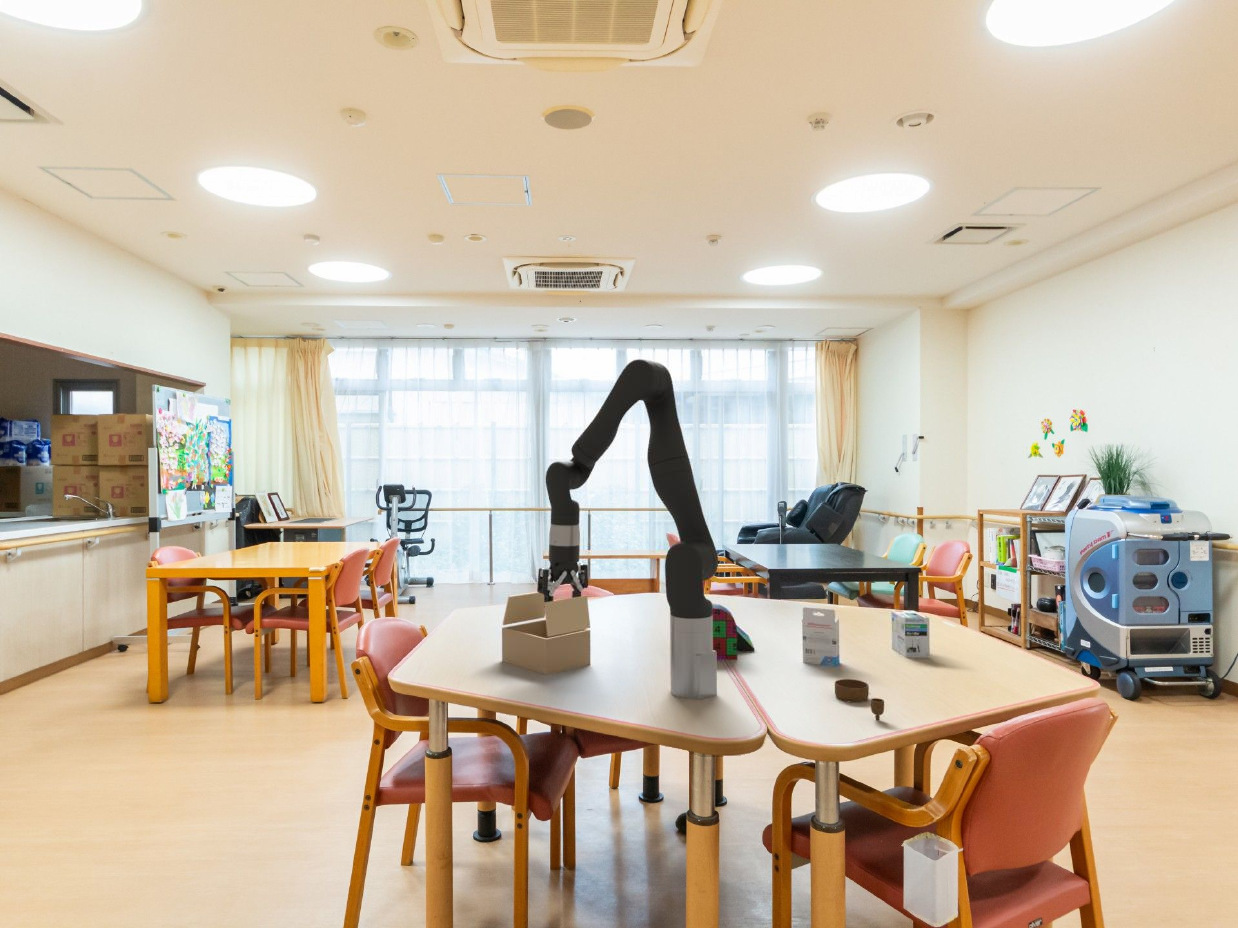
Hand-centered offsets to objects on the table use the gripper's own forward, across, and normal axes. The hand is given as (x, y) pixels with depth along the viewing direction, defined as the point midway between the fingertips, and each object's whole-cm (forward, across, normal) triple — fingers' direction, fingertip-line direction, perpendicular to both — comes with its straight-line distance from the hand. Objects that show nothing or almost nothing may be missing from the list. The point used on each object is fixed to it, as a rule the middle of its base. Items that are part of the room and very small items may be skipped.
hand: (562, 608), depth 180 cm
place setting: (+14, +26, -63) cm, 70 cm away
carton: (+16, 0, +6) cm, 17 cm away
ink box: (+14, +52, -41) cm, 68 cm away
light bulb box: (+14, +79, -52) cm, 96 cm away
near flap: (+6, 0, -3) cm, 6 cm away
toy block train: (+16, +46, -14) cm, 51 cm away
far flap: (+6, 0, +15) cm, 17 cm away
